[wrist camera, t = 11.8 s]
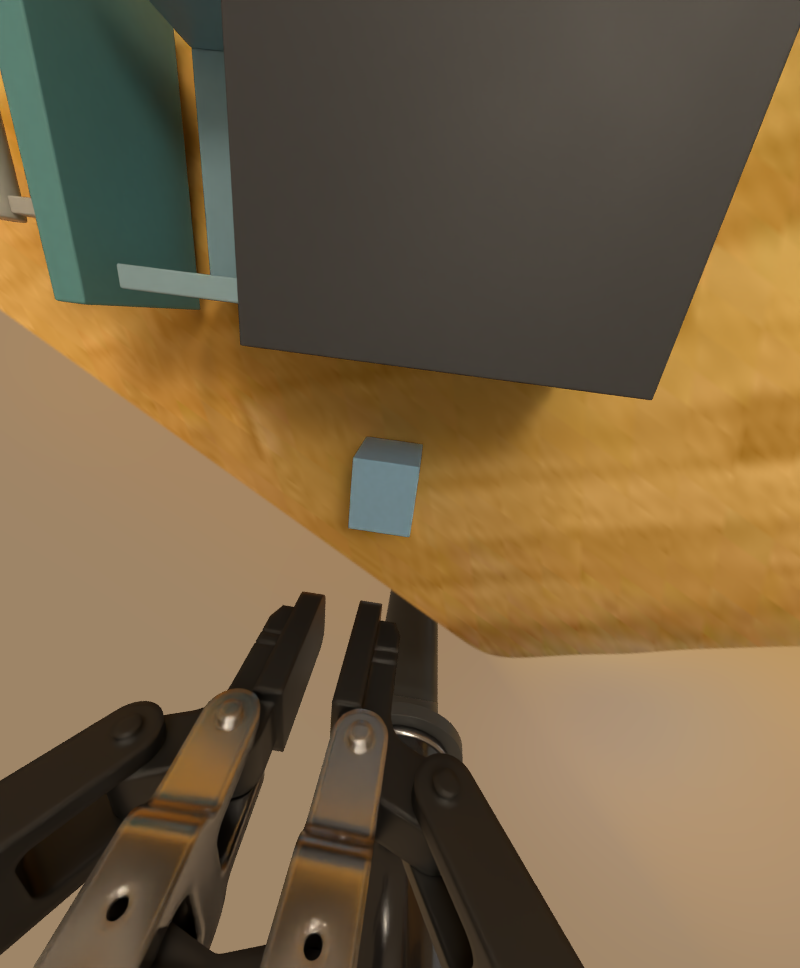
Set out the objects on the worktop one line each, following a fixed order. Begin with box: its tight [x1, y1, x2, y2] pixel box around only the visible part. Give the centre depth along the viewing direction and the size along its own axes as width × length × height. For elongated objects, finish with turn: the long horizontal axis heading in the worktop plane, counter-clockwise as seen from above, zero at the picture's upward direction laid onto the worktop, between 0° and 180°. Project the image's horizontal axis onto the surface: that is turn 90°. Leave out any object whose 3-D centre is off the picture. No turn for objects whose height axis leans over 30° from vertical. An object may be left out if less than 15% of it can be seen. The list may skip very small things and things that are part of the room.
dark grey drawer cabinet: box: [221, 0, 800, 400], centre depth 14 cm, size 14×13×9 cm
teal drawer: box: [0, 0, 238, 310], centre depth 15 cm, size 18×11×7 cm, turn 83°
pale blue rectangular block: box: [348, 437, 423, 537], centre depth 22 cm, size 4×4×4 cm
